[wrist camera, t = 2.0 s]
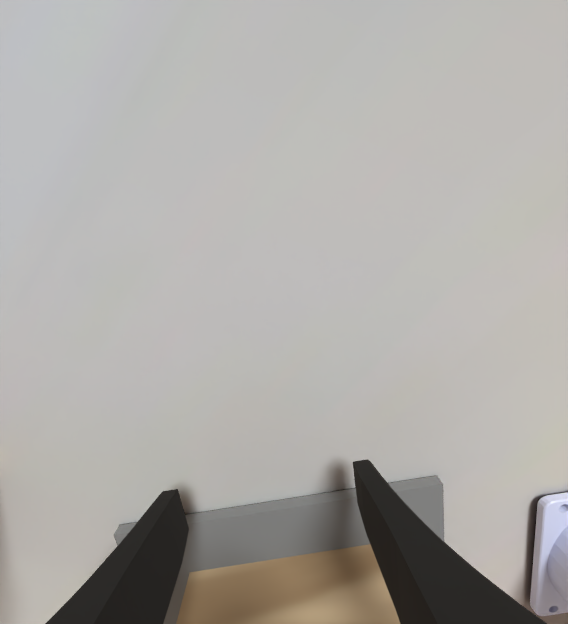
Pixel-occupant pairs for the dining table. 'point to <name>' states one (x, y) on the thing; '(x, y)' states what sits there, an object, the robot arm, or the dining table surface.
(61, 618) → the robot arm
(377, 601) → the t block
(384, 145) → the dining table surface
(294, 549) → the mat
